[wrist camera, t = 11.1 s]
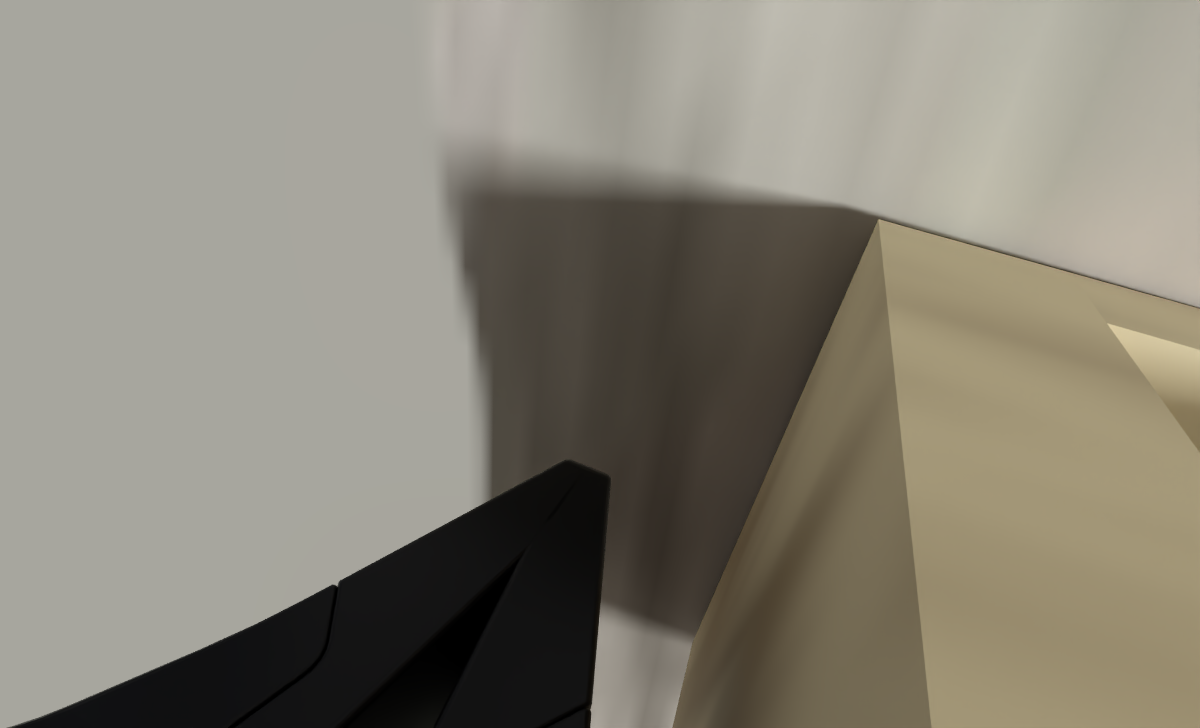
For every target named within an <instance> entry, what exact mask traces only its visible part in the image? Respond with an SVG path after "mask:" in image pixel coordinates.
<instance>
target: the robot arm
mask: <svg viewBox="0 0 1200 728" xmlns="http://www.w3.org/2000/svg"><path fill="white" fill-rule="evenodd" d="M610 486H611V478H610V476H609V475H608V474H605V473H603V472H600V471H598V470H595V469H593V468H590V467H588V466H585V465H583V464H580V463H578V462H575V461H573V460H564V461H562V462H560V463H558V464H557V465H555V466H553V467H551V468H549V469H547V470H545V471H544V472H542V473H540V474H538V475H536V476H534V477H532V478H531V479H529V480H527V481H525V482H523V483H521V484H519V485H517V486H516V487H514V488H512V489H510V490H508V491H506V492H504V493H503V494H501V495H499V496H497V497H495V498H493V499H491V500H490V501H488V502H486V503H484V504H482V505H480V506H478V507H476V508H475V509H473V510H471V511H469V512H467V513H465V514H463V515H462V516H460V517H458V518H456V519H454V520H452V521H450V522H449V523H447V524H445V525H443V526H441V527H439V528H438V529H436V530H434V531H432V532H430V533H428V534H426V535H424V536H423V537H421V538H419V539H417V540H415V541H413V542H411V543H409V544H408V545H406V546H404V547H402V548H400V549H399V550H396V551H394V552H393V553H391V554H389V555H387V556H385V557H383V558H382V559H380V560H378V561H376V562H374V563H372V564H370V565H368V566H367V567H365V568H363V569H361V570H359V571H357V572H355V573H354V574H352V575H350V576H348V577H346V578H344V579H343V580H340V581H339V583H338V587H337V586H336V585H331V586H329V587H327V588H325V589H323V590H321V591H319V592H318V593H316V594H314V595H312V596H310V597H308V598H306V599H304V600H303V601H301V602H299V603H297V604H295V605H293V606H291V607H289V608H287V609H285V610H283V611H281V612H279V613H277V614H275V615H273V616H271V617H269V618H267V619H265V620H263V621H261V622H259V623H257V624H255V625H253V626H251V627H249V628H246V629H244V630H242V631H240V632H238V633H235V634H233V635H231V636H229V637H227V638H224V639H222V640H220V641H218V642H215V643H213V644H211V645H209V646H207V647H205V648H202V649H201V650H198V651H195V652H193V653H191V654H188V655H186V656H184V657H181V658H179V659H177V660H174V661H172V662H170V663H167V664H165V665H163V666H160V667H158V668H156V669H153V670H151V671H149V672H146V673H144V674H142V675H140V676H137V677H135V678H132V679H130V680H128V681H125V682H123V683H121V684H118V685H116V686H114V687H111V688H109V689H107V690H104V691H102V692H100V693H97V694H95V695H93V696H90V697H88V698H86V699H83V700H81V701H79V702H76V703H74V704H72V705H69V706H67V707H65V708H62V709H59V710H57V711H54V712H52V713H49V714H47V715H44V716H42V717H39V718H36V719H33V720H30V721H27V722H24V723H21V724H18V725H15V726H12V727H8V728H590V723H591V711H590V709H591V705H592V696H593V684H594V673H595V661H596V649H597V638H598V626H599V614H600V603H601V591H602V579H603V568H604V556H605V544H606V533H607V521H608V509H609V498H610Z"/></svg>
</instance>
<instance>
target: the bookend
mask: <svg viewBox="0 0 1200 728" xmlns="http://www.w3.org/2000/svg"><path fill="white" fill-rule="evenodd" d="M673 728H1200V309H1199V308H1195V307H1192V306H1188V305H1184V304H1181V303H1177V302H1174V301H1170V300H1167V299H1163V298H1159V297H1156V296H1152V295H1149V294H1145V293H1141V292H1138V291H1134V290H1131V289H1127V288H1123V287H1120V286H1116V285H1113V284H1109V283H1106V282H1102V281H1098V280H1095V279H1091V278H1088V277H1084V276H1080V275H1077V274H1073V273H1070V272H1066V271H1062V270H1059V269H1055V268H1052V267H1048V266H1045V265H1041V264H1037V263H1034V262H1030V261H1027V260H1023V259H1019V258H1016V257H1012V256H1009V255H1005V254H1001V253H998V252H994V251H991V250H987V249H984V248H980V247H976V246H973V245H969V244H966V243H962V242H958V241H955V240H951V239H948V238H944V237H940V236H937V235H933V234H930V233H926V232H923V231H919V230H915V229H912V228H908V227H905V226H901V225H897V224H894V223H890V222H887V221H883V220H879V219H878V221H877V224H876V226H875V228H874V231H873V233H872V235H871V237H870V240H869V242H868V244H867V246H866V249H865V251H864V253H863V256H862V258H861V260H860V262H859V265H858V267H857V269H856V272H855V274H854V276H853V278H852V281H851V283H850V285H849V287H848V290H847V292H846V294H845V297H844V299H843V301H842V303H841V306H840V308H839V310H838V313H837V315H836V317H835V319H834V322H833V324H832V326H831V328H830V331H829V333H828V335H827V338H826V340H825V342H824V344H823V347H822V349H821V351H820V354H819V356H818V358H817V360H816V363H815V365H814V367H813V369H812V372H811V374H810V376H809V379H808V381H807V383H806V385H805V388H804V390H803V392H802V395H801V397H800V399H799V401H798V404H797V406H796V408H795V410H794V413H793V415H792V417H791V420H790V422H789V424H788V426H787V429H786V431H785V433H784V436H783V438H782V440H781V442H780V445H779V447H778V449H777V451H776V454H775V456H774V458H773V461H772V463H771V465H770V467H769V470H768V472H767V474H766V477H765V479H764V481H763V483H762V486H761V488H760V490H759V492H758V495H757V497H756V499H755V502H754V504H753V506H752V508H751V511H750V513H749V515H748V518H747V520H746V522H745V524H744V527H743V529H742V531H741V533H740V536H739V538H738V540H737V543H736V545H735V547H734V549H733V552H732V554H731V556H730V558H729V561H728V563H727V565H726V568H725V570H724V572H723V574H722V577H721V579H720V581H719V584H718V586H717V588H716V590H715V593H714V595H713V597H712V599H711V602H710V604H709V606H708V609H707V611H706V613H705V615H704V618H703V620H702V622H701V625H700V627H699V629H698V631H697V634H696V636H695V638H694V640H693V643H692V648H691V652H690V656H689V660H688V664H687V669H686V673H685V677H684V681H683V686H682V690H681V694H680V698H679V702H678V707H677V711H676V715H675V719H674V724H673Z"/></svg>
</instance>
